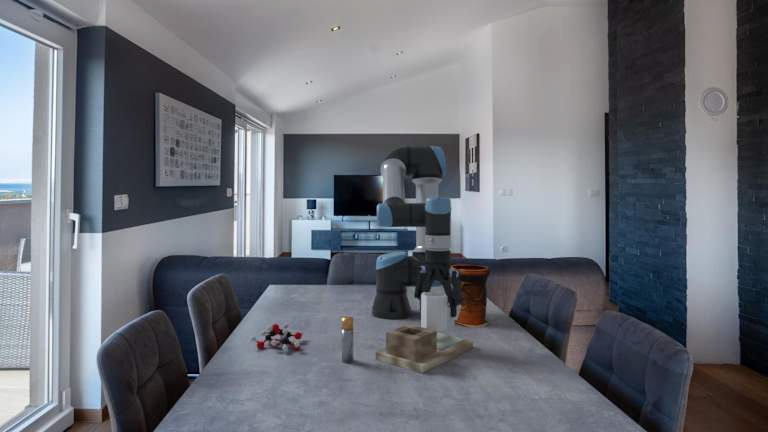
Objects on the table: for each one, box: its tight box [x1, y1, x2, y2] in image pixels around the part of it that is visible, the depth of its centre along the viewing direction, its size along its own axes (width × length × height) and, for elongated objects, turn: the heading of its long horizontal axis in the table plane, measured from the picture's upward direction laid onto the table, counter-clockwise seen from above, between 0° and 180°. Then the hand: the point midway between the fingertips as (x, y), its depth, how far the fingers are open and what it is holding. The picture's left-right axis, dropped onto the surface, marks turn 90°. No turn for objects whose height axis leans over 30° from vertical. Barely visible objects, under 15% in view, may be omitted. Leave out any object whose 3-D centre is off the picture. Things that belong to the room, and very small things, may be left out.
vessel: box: [450, 263, 491, 328], centre depth 166 cm, size 14×14×20 cm
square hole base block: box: [375, 324, 474, 374], centre depth 134 cm, size 16×26×8 cm, turn 140°
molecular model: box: [249, 322, 304, 352], centre depth 140 cm, size 10×12×15 cm
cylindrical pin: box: [341, 316, 354, 364], centre depth 127 cm, size 3×3×12 cm
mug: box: [420, 290, 461, 332], centre depth 137 cm, size 12×9×10 cm
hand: (437, 324), depth 138 cm, fingers closed on mug, 8 cm apart
